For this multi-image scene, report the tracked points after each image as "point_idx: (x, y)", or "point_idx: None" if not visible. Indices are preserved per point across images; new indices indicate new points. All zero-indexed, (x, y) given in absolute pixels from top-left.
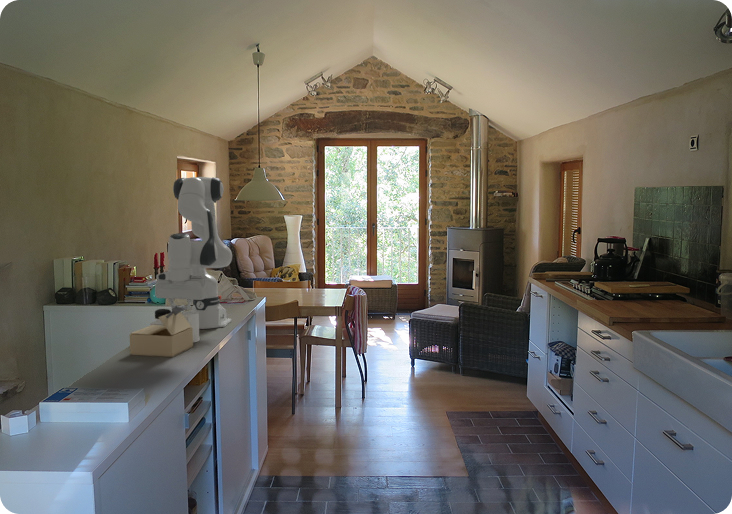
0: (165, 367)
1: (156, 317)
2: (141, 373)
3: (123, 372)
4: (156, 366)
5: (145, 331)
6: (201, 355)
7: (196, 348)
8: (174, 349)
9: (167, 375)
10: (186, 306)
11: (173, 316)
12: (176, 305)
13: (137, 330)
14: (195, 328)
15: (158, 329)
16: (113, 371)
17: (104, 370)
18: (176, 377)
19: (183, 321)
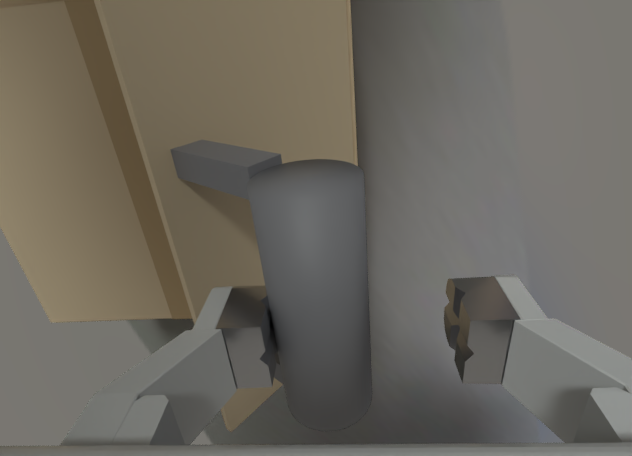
0: (416, 365)
1: None
2: (370, 427)
3: (302, 429)
4: (372, 362)
5: (95, 265)
6: (502, 167)
7: (393, 12)
8: None
9: (475, 427)
10: (502, 381)
11: (223, 211)
12: (266, 343)
13: (16, 255)
14: None
15: (132, 193)
16: (261, 427)
17: (223, 425)
18: (518, 437)
19: (286, 64)
